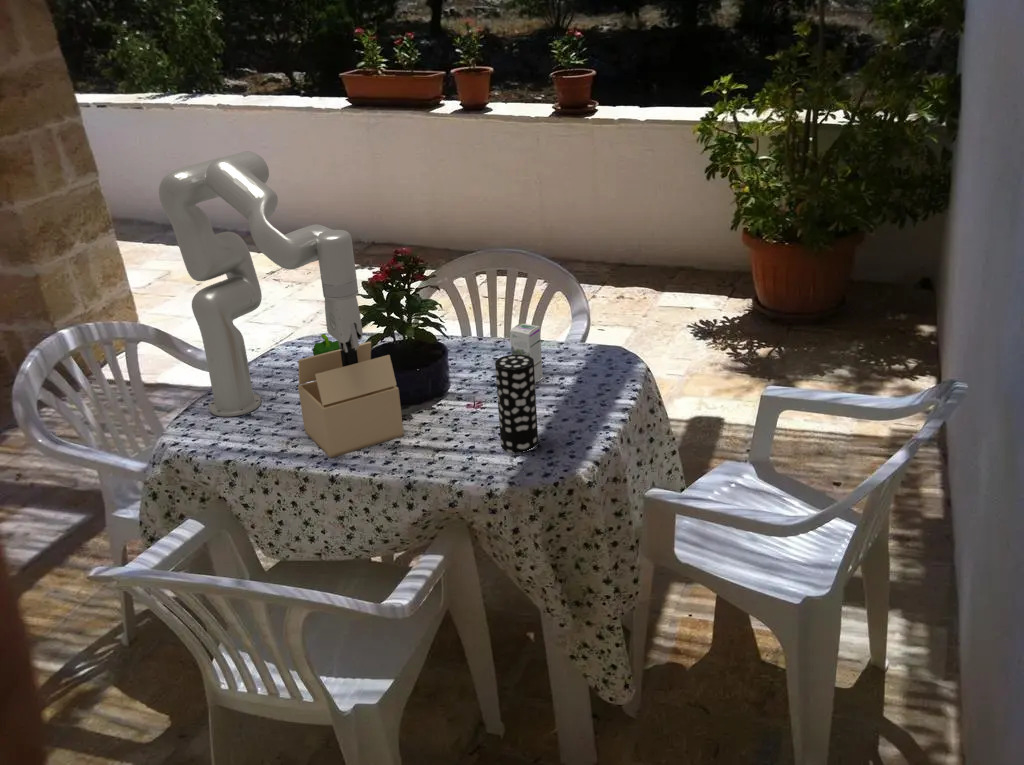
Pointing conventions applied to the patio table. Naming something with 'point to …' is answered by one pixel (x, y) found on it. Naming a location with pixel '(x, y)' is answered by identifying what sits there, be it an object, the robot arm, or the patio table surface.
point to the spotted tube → (516, 402)
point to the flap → (328, 362)
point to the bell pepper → (325, 346)
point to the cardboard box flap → (355, 379)
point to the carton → (351, 419)
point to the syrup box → (528, 345)
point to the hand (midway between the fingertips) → (350, 366)
